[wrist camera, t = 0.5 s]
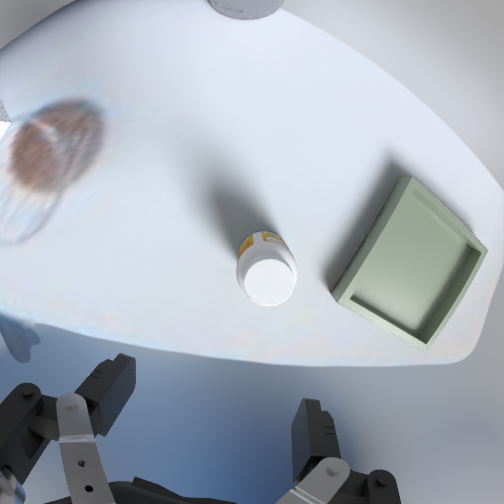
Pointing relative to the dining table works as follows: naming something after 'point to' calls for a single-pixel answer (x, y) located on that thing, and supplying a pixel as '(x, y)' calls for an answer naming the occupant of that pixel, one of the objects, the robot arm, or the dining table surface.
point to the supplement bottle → (266, 268)
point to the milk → (3, 121)
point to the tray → (411, 266)
